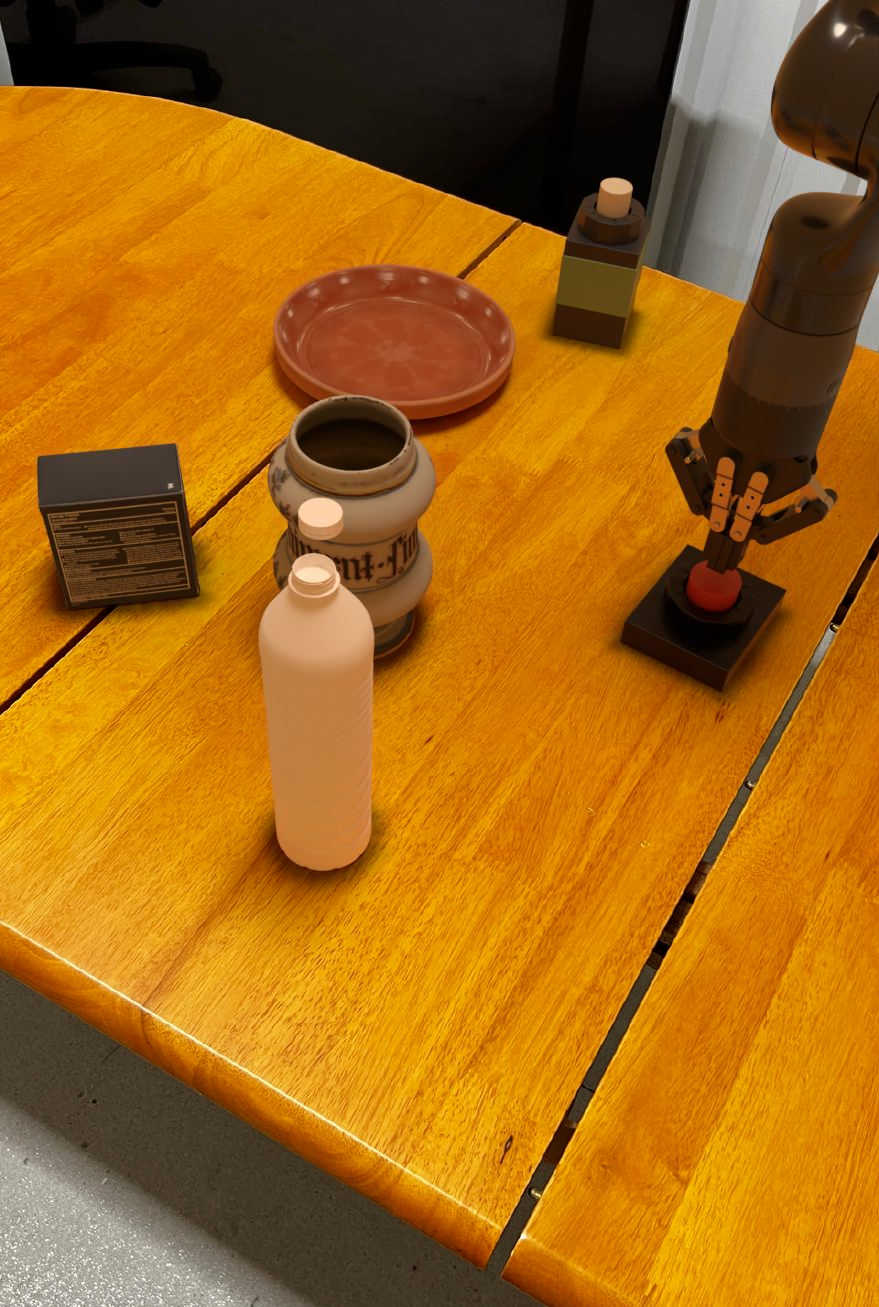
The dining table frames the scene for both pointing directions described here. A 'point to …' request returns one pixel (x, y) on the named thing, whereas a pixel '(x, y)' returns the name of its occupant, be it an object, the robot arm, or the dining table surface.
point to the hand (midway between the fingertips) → (719, 565)
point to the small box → (118, 525)
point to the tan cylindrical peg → (614, 198)
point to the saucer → (395, 338)
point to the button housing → (701, 623)
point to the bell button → (713, 588)
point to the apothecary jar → (360, 506)
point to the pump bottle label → (598, 285)
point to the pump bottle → (606, 245)
